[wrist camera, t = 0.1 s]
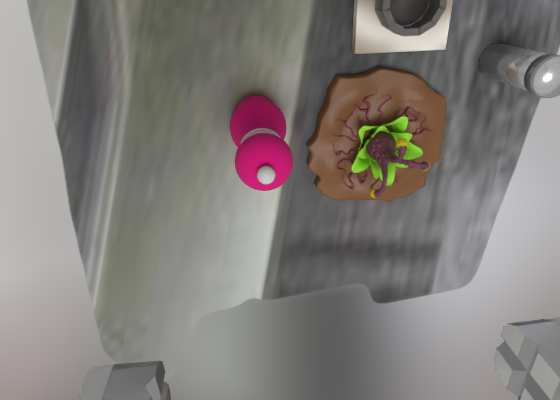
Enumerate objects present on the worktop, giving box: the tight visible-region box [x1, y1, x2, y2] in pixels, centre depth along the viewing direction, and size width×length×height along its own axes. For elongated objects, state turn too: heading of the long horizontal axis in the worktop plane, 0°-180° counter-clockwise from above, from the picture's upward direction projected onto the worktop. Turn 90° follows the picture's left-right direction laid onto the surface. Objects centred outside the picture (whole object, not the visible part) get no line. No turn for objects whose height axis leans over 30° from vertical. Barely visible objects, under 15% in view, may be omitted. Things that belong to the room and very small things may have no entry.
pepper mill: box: [230, 96, 293, 191], centre depth 47 cm, size 7×7×20 cm
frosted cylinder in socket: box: [478, 43, 560, 98], centre depth 50 cm, size 5×5×12 cm
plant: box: [306, 67, 446, 202], centre depth 54 cm, size 20×20×11 cm
